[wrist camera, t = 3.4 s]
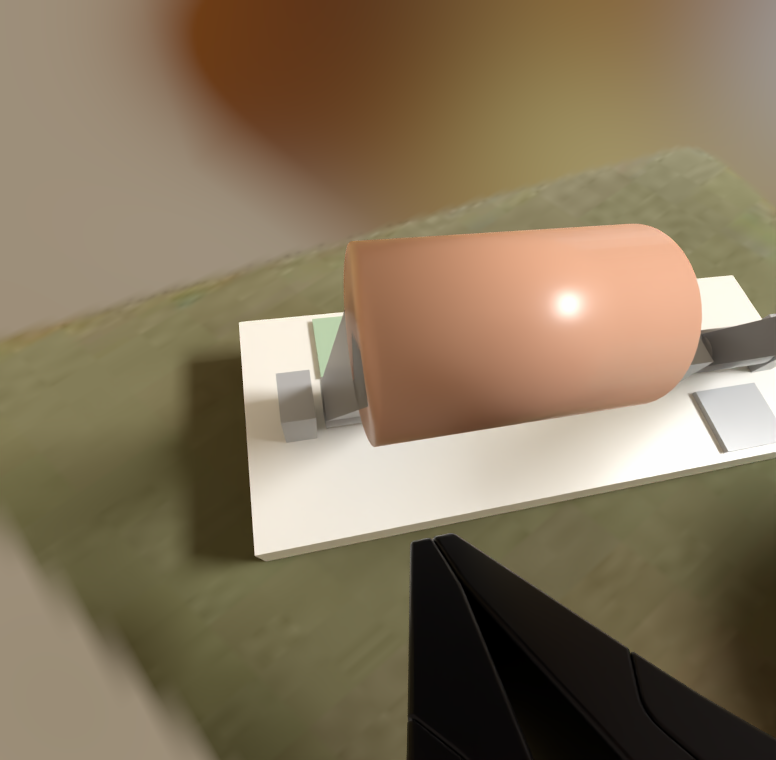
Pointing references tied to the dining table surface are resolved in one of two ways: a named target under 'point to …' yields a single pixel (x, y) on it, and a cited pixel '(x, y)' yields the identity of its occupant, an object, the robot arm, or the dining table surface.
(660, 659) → the dining table surface
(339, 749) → the dining table surface
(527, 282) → the terracotta lever
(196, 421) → the dining table surface
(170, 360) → the dining table surface
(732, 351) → the grey lever
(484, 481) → the switch unit
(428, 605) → the robot arm
